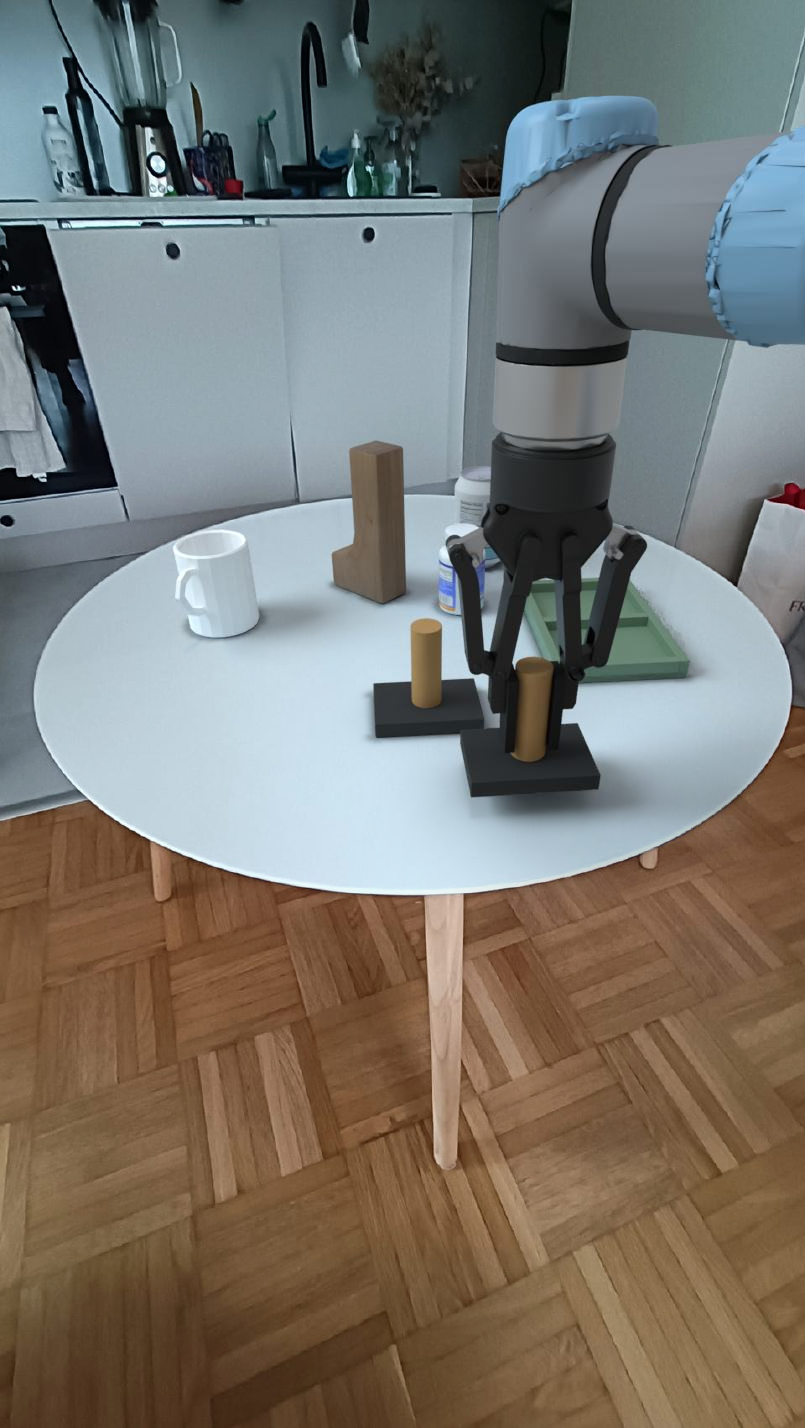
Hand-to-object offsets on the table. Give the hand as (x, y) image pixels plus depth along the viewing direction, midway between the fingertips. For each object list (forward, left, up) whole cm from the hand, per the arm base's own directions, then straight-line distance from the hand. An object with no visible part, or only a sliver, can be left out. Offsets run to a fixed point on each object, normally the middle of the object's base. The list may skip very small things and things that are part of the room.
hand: (528, 740), depth 57 cm
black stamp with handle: (0, 0, -3) cm, 3 cm away
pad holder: (+25, -13, -5) cm, 29 cm away
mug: (+30, +30, -5) cm, 43 cm away
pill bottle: (+33, +1, -5) cm, 34 cm away
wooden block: (+39, +12, -5) cm, 41 cm away
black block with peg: (+11, +7, -5) cm, 14 cm away
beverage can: (+46, -3, -5) cm, 47 cm away
